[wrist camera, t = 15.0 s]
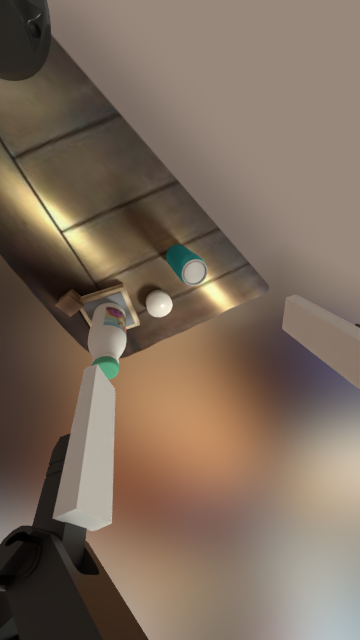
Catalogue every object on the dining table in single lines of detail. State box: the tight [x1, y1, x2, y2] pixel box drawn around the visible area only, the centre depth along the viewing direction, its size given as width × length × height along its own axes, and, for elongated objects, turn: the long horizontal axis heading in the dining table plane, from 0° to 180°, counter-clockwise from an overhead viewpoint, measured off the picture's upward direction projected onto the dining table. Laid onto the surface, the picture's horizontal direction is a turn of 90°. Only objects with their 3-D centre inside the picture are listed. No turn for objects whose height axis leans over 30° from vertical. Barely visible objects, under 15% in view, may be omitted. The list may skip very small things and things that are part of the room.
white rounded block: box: [146, 290, 172, 317], centre depth 52 cm, size 7×7×3 cm
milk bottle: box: [88, 303, 126, 380], centre depth 40 cm, size 8×8×20 cm
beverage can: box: [166, 244, 207, 286], centre depth 42 cm, size 6×6×15 cm
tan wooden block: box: [55, 289, 84, 317], centre depth 45 cm, size 4×4×4 cm
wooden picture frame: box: [80, 284, 140, 329], centre depth 50 cm, size 12×12×3 cm
